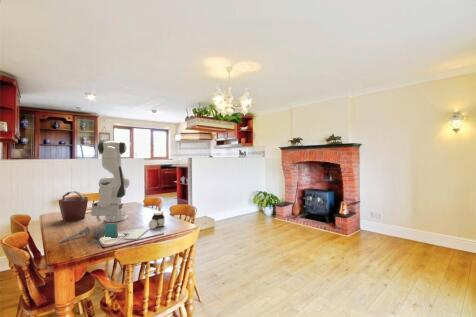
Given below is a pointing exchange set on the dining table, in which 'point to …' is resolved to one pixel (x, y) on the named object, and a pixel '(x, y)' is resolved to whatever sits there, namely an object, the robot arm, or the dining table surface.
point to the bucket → (73, 207)
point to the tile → (111, 230)
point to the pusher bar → (99, 231)
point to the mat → (99, 241)
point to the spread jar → (157, 220)
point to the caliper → (77, 234)
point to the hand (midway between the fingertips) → (105, 221)
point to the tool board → (136, 234)
